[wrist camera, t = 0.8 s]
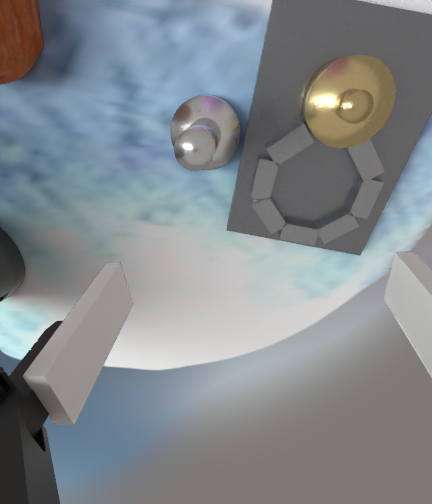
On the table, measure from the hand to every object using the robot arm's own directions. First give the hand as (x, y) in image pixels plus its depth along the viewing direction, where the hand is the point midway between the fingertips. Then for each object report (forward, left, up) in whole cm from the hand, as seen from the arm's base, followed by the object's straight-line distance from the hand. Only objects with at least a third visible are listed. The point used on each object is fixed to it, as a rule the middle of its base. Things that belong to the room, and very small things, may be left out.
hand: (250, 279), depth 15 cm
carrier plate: (+7, +4, -21) cm, 22 cm away
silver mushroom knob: (-5, +3, -21) cm, 21 cm away
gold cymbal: (+7, +8, -19) cm, 22 cm away
